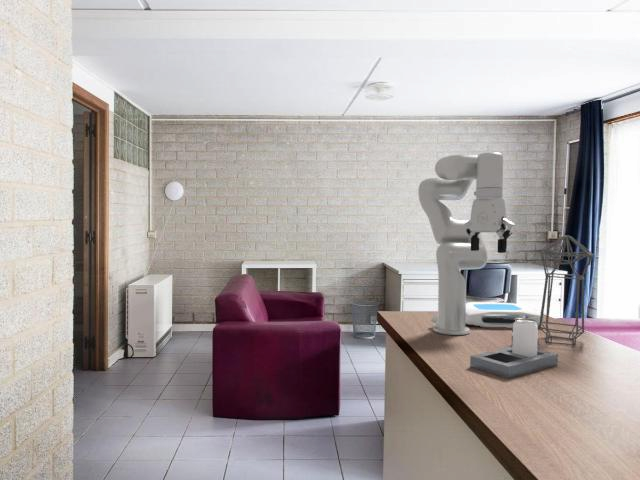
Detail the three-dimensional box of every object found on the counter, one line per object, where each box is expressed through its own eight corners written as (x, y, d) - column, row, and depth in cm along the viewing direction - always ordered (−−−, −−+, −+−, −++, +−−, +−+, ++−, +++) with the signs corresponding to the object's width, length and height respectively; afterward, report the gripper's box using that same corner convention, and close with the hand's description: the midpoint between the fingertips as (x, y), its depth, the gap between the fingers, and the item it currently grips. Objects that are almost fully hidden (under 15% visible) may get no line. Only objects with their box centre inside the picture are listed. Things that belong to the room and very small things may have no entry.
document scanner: (543, 328, 188) (544, 312, 187) (467, 328, 188) (467, 311, 188) (522, 317, 209) (522, 302, 208) (453, 316, 209) (453, 301, 209)
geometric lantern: (536, 334, 178) (541, 234, 177) (586, 340, 172) (592, 236, 170) (534, 343, 164) (540, 234, 162) (589, 350, 157) (596, 237, 156)
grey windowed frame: (470, 366, 138) (470, 355, 138) (519, 354, 151) (519, 344, 151) (508, 378, 129) (508, 366, 128) (557, 364, 141) (558, 353, 141)
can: (508, 359, 146) (508, 318, 145) (529, 359, 146) (530, 317, 146) (518, 366, 139) (519, 322, 139) (541, 365, 140) (542, 322, 139)
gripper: (458, 195, 158) (457, 250, 158) (506, 193, 143) (505, 253, 144) (473, 195, 162) (472, 249, 163) (522, 194, 147) (521, 253, 148)
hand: (488, 251), depth 153 cm, fingers open, 9 cm apart
